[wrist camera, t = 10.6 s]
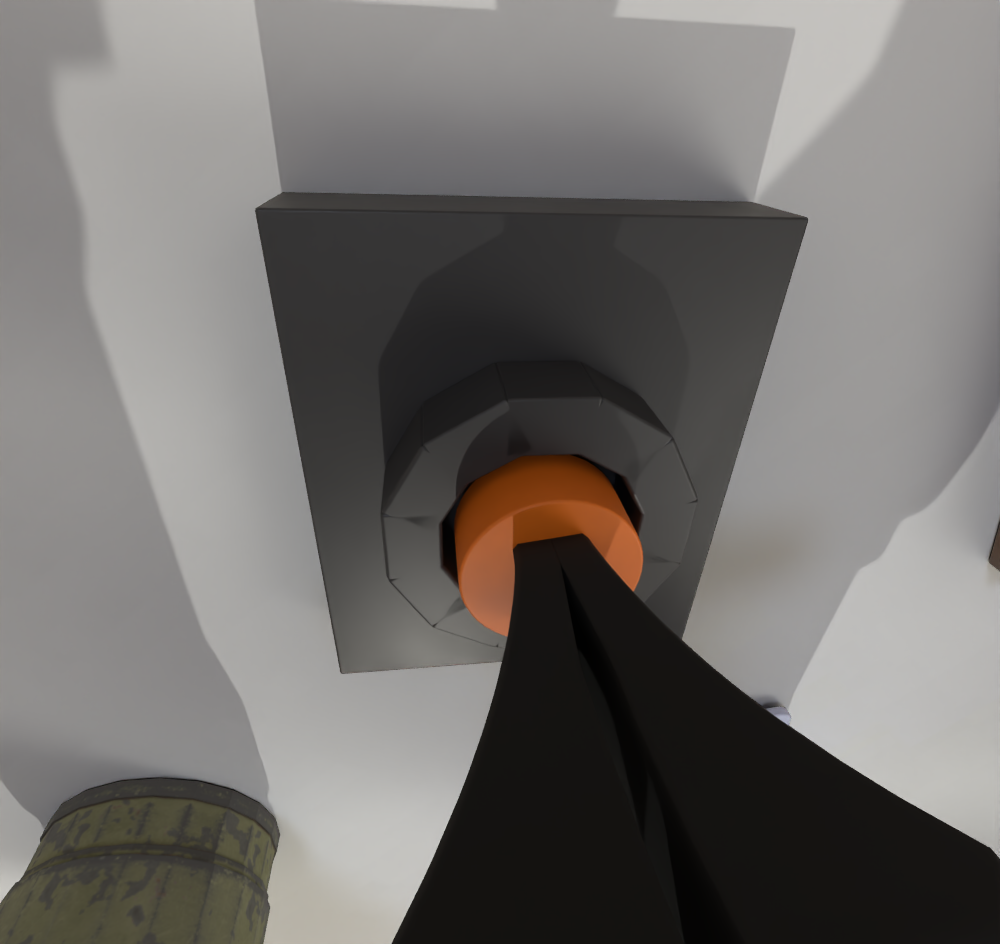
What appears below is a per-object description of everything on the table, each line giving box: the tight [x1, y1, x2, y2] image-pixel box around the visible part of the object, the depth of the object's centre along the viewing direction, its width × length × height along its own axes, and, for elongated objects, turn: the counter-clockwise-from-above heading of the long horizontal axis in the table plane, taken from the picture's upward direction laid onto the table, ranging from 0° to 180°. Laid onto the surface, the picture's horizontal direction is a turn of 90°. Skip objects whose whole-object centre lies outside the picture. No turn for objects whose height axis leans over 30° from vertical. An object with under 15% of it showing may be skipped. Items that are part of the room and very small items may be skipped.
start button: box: [454, 455, 643, 636], centre depth 11 cm, size 4×4×2 cm
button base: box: [255, 192, 808, 674], centre depth 13 cm, size 12×10×4 cm
